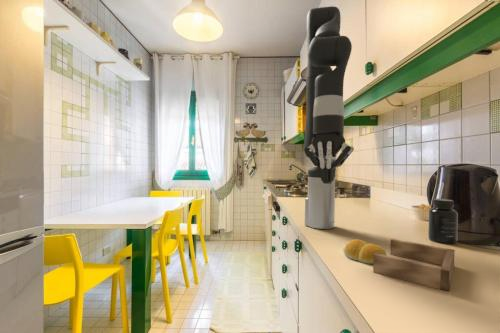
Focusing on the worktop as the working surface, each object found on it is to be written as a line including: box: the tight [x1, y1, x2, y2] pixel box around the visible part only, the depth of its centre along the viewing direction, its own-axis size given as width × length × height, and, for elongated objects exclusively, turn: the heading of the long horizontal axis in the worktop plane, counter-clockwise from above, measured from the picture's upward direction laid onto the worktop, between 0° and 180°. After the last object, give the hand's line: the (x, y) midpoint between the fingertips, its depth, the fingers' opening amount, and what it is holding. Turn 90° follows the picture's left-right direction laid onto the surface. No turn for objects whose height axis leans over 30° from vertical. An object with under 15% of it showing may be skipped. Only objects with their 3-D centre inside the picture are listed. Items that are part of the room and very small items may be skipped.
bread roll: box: [342, 238, 387, 265], centre depth 61 cm, size 8×9×4 cm
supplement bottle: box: [427, 198, 459, 245], centre depth 76 cm, size 7×7×12 cm
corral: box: [372, 238, 455, 292], centre depth 55 cm, size 12×15×4 cm
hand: (327, 183), depth 67 cm, fingers closed
